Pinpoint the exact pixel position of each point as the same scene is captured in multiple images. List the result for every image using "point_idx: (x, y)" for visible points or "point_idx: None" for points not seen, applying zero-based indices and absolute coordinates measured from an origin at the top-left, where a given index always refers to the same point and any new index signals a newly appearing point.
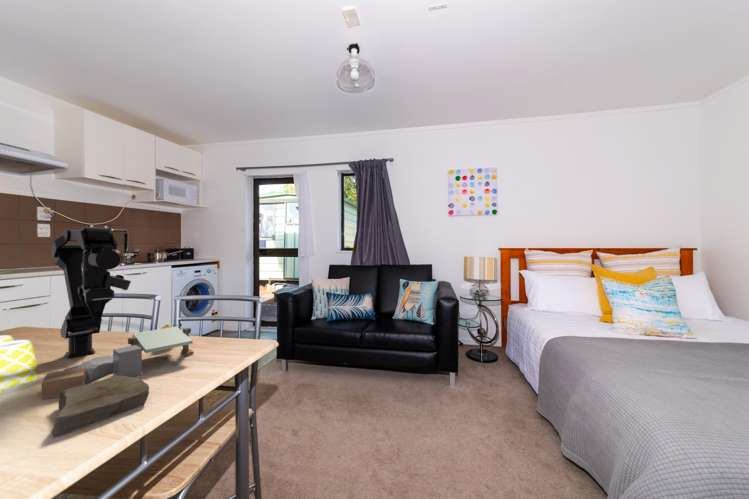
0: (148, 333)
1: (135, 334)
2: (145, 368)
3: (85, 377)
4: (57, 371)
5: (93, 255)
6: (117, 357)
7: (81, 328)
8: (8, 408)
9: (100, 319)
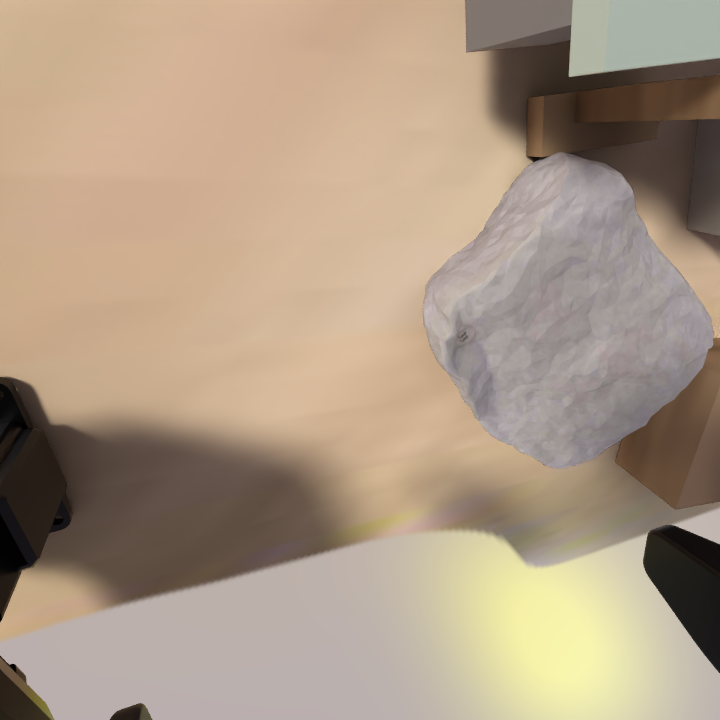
0: None
1: (650, 44)
2: None
3: None
4: (690, 477)
5: None
6: None
7: (2, 668)
8: (699, 512)
9: (702, 539)
